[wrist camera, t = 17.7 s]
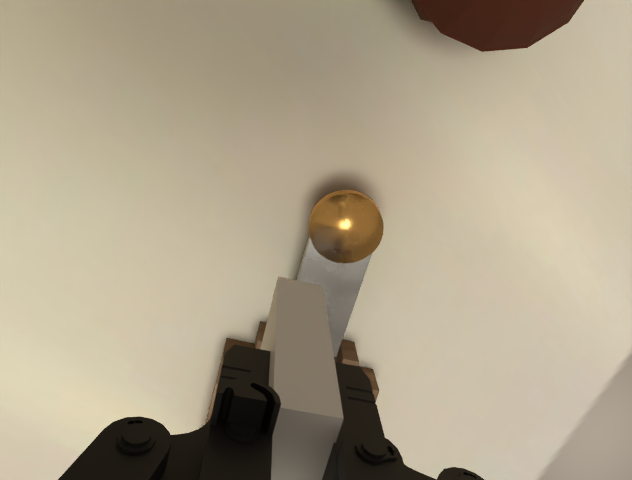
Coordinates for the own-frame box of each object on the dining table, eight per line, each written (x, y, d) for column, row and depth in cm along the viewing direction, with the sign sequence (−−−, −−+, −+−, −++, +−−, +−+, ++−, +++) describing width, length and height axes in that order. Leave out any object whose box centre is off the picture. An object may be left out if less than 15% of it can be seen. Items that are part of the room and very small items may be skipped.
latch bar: (319, 181, 34) (320, 185, 34) (390, 199, 35) (393, 204, 34) (272, 347, 39) (271, 354, 38) (335, 360, 40) (336, 368, 39)
